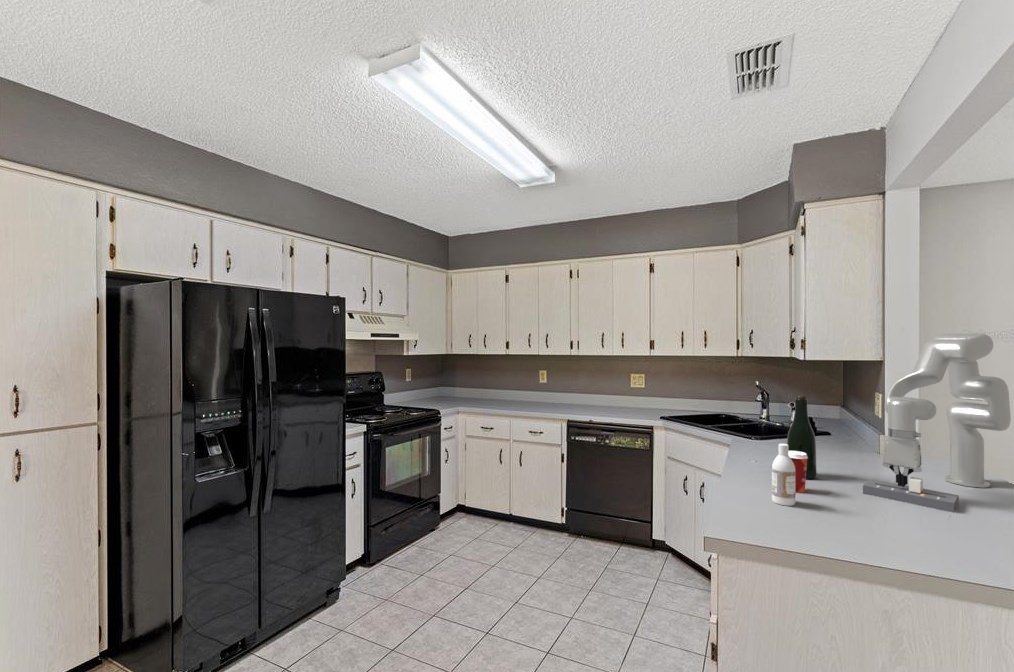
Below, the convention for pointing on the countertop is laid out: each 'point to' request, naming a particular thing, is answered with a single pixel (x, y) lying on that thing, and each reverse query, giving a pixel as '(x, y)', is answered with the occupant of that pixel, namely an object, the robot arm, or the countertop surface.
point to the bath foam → (783, 478)
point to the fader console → (912, 495)
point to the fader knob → (916, 484)
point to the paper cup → (799, 469)
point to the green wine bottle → (803, 436)
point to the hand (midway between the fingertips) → (901, 485)
